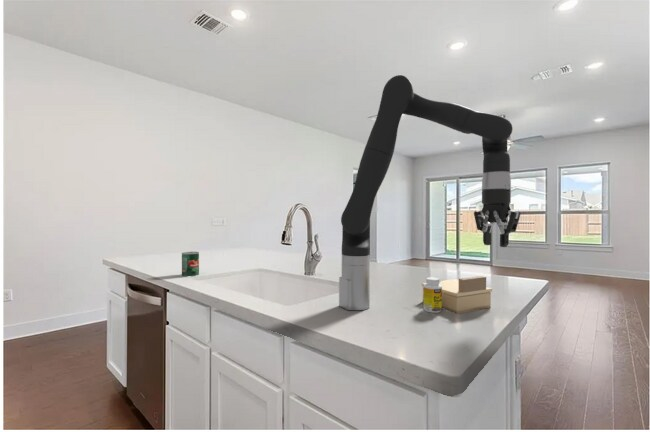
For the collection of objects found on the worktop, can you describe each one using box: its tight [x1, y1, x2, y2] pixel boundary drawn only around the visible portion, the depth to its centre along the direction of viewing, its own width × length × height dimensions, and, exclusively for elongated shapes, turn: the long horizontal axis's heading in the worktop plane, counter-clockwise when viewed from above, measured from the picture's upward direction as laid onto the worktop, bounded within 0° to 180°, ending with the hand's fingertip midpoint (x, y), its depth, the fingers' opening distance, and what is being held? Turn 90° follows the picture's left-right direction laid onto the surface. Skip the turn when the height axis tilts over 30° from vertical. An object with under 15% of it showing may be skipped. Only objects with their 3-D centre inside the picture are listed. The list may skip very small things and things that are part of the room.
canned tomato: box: [181, 251, 200, 277], centre depth 159 cm, size 8×8×11 cm
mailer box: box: [422, 286, 492, 315], centre depth 110 cm, size 15×15×5 cm
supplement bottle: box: [422, 276, 443, 314], centre depth 103 cm, size 6×6×10 cm
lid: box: [421, 275, 493, 297], centre depth 110 cm, size 16×16×5 cm
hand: (495, 245), depth 96 cm, fingers open, 4 cm apart
